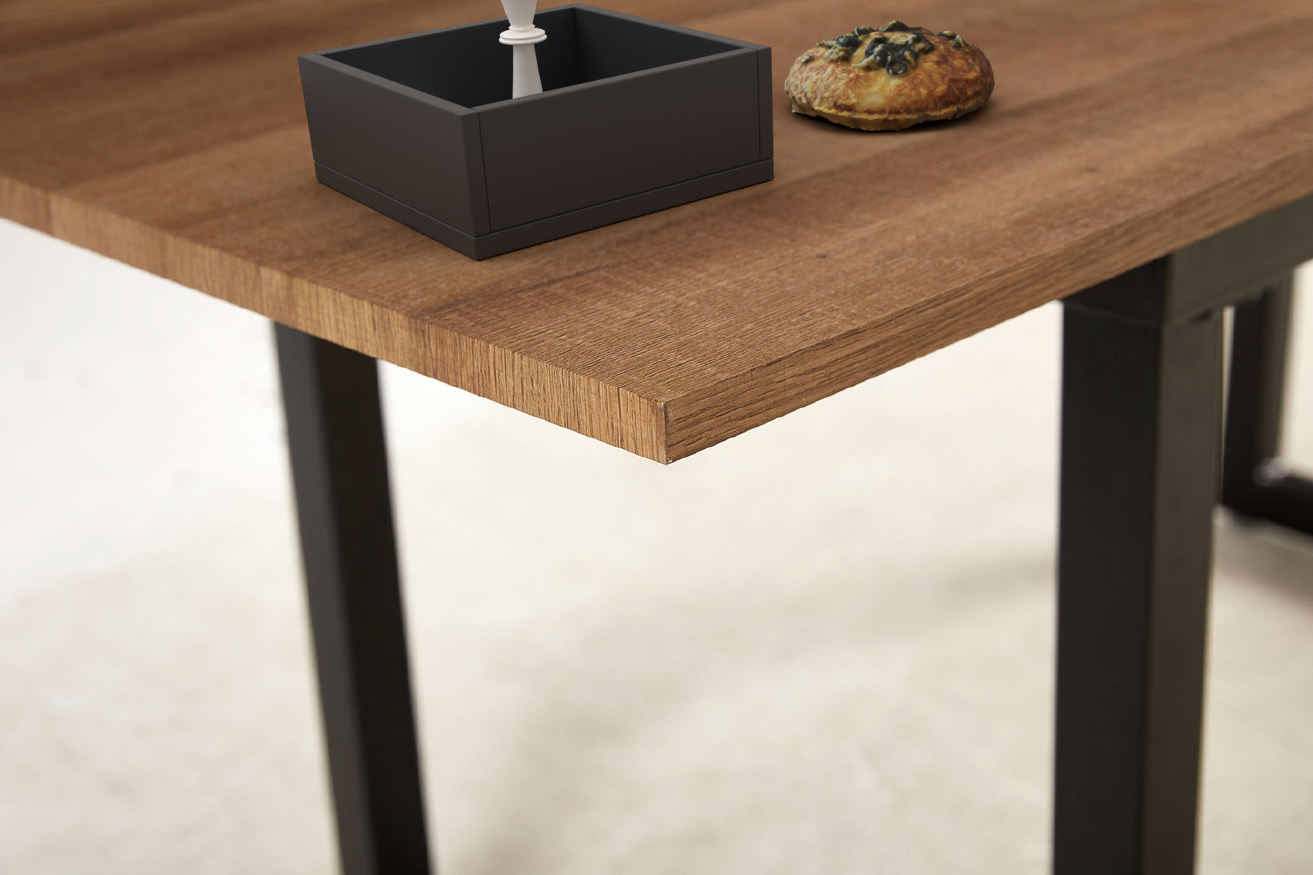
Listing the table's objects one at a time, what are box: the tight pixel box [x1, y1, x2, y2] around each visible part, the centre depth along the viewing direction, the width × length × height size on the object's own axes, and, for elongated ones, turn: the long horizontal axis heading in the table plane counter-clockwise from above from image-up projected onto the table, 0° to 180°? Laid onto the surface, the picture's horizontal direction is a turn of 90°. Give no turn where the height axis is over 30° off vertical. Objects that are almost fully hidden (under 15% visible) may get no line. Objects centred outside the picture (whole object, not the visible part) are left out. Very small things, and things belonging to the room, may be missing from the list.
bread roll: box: [783, 19, 996, 132], centre depth 80 cm, size 11×11×5 cm
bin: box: [297, 2, 775, 261], centre depth 71 cm, size 16×16×6 cm
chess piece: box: [499, 0, 547, 99], centre depth 70 cm, size 5×5×10 cm
